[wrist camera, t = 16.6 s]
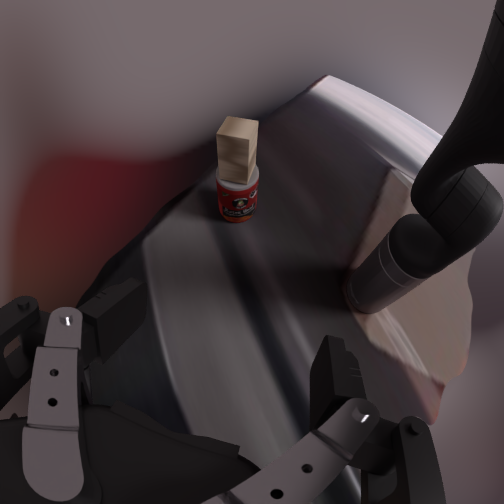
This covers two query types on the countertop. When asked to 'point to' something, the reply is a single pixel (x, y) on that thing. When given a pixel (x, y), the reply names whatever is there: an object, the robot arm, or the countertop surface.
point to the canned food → (237, 197)
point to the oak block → (237, 149)
